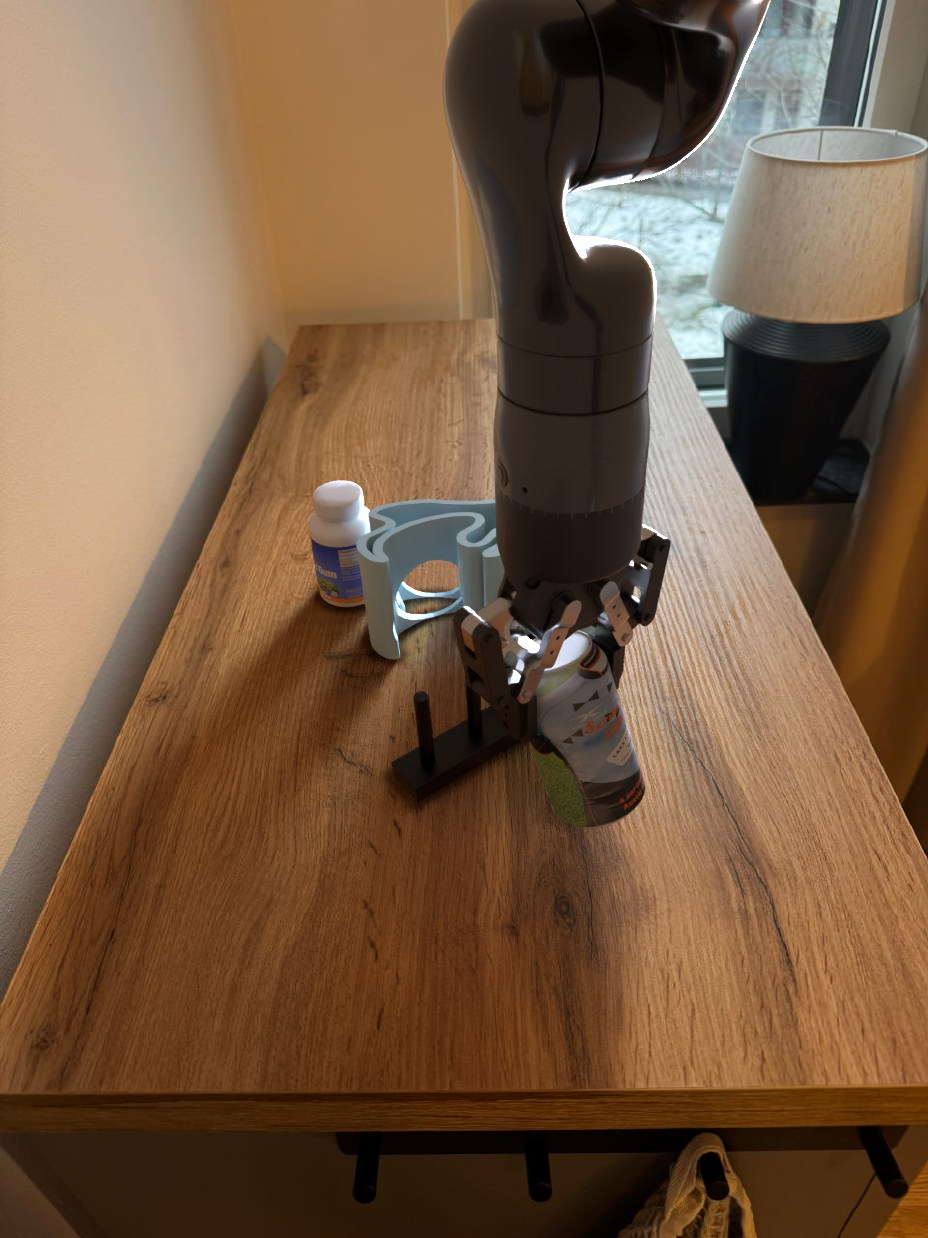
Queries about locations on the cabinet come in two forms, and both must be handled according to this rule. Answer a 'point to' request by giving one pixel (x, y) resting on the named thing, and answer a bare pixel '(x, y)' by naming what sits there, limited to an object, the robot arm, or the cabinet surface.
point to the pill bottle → (338, 541)
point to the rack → (449, 747)
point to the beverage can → (584, 738)
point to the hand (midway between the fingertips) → (562, 708)
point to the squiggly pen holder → (419, 537)
